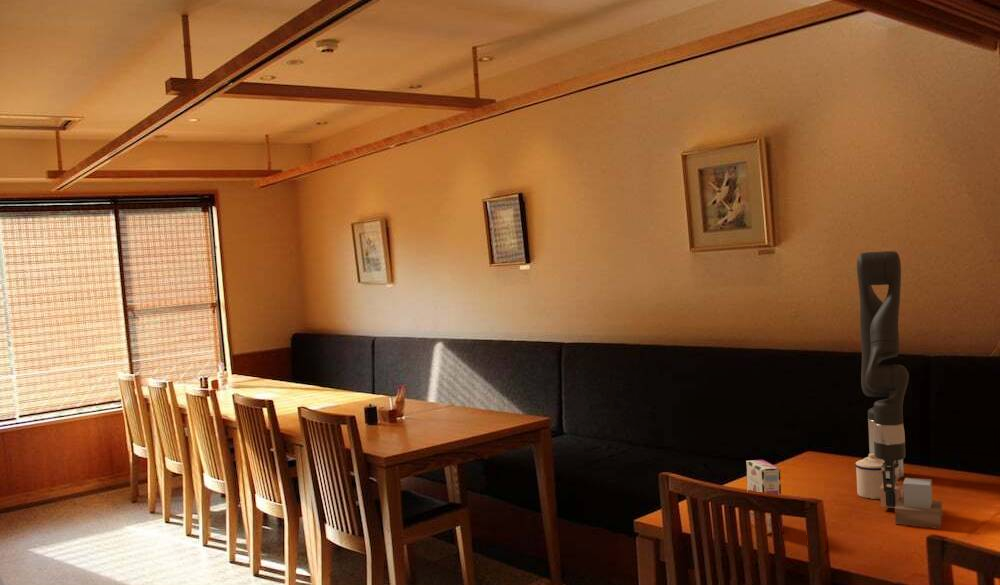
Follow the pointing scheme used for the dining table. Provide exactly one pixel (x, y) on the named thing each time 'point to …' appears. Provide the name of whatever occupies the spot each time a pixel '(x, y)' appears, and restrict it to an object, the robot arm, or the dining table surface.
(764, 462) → the candy bar box
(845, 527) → the dining table surface
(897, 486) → the terracotta block
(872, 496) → the teacup with lid
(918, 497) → the slate block
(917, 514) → the walnut plinth
